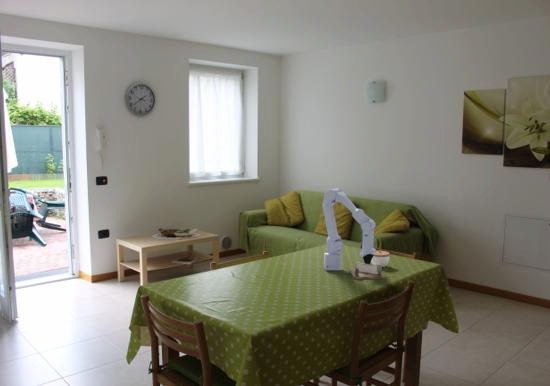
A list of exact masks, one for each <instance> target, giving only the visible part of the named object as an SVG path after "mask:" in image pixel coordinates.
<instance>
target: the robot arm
mask: <svg viewBox="0 0 550 386" xmlns="http://www.w3.org/2000/svg"><path fill="white" fill-rule="evenodd" d="M336 203H341V204H342V205H343V206H344V207H345V208H347V210H348V211H350V213H351V215H352V217H353V219H354V220H355V221H356V222H357V223H358V224H359V225H360V228H361V230H362V244H361V245H362V247H361V248H362V250H361V251H360V252H359V253H358V255H359V256H358V257H360V258H362V259H363V263H366V264H372V263H371V260H372V258H373V256H374V255H372V253H373V254H374V253H375V252H376V251H377V249H376V248H374V242H375V240H374V238H375V236H374V235H375V229H376V226H377V224H376V221H375V220H374V219H372V218H370V216H368V215H367V214H366V213H365V211H364V210H363V209H361V208H357V207H356V206H355V204H354V203H353V201H351V199H350V198H349V197H348V196H347V194H346V193H345V192H344V191H343V190H342V188H340V187H335V188H329V189H327V190H325V192H324V193H323V200H322V205H321V206H322V210H323V217H324V222H325V226H326V232H327V237H326V245H325V249H326V251H327V252H324V254H323V269H324V271H343V267H342V250H343V249H344V242H343V241H342V238H341V236H340V235H339V233H338V228H337V221H336V216H335V211H334V206H335V204H336Z"/></svg>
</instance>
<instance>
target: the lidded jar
mask: <svg viewBox="0 0 550 386" xmlns="http://www.w3.org/2000/svg"><path fill="white" fill-rule="evenodd" d="M372 255H374V256H373V258H372V260H371V263H370V264H372V265H382V267H384V268H386V266H387V265H388V264H389V261H390V252H388V251H384V250H381V249H378V250H376V252H375V253H374V254H373V253H372Z"/></svg>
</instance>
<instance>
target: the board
mask: <svg viewBox="0 0 550 386" xmlns="http://www.w3.org/2000/svg"><path fill="white" fill-rule="evenodd" d="M348 272H349V274H350V275H351V277H352V278H353V280H384V276H383V275H382V273H381V274H378V271H377V273H371V272H365V271H359V269H358V268H355V267H354V268H348Z"/></svg>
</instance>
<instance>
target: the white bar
mask: <svg viewBox="0 0 550 386" xmlns="http://www.w3.org/2000/svg"><path fill="white" fill-rule="evenodd" d="M354 265H355V266H354V269H355V268H358V269H359V271H365V272H371V273H377V271H378V274H381V275H382V270H383V269H382V265H373V264H372V263H370V264H366V263H364V262H359V261H355V264H354Z"/></svg>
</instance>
